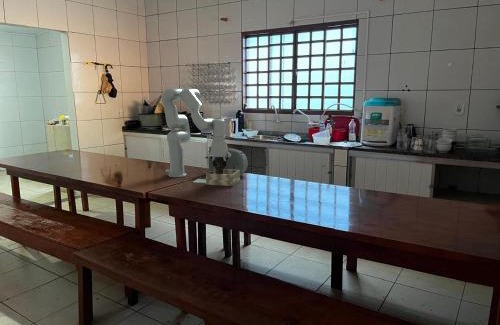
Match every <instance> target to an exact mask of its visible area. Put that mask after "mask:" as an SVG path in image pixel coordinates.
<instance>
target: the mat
mask: <svg viewBox="0 0 500 325" xmlns="http://www.w3.org/2000/svg"><path fill="white" fill-rule="evenodd" d="M192 183H194V184H206V178H196V179H195V180H193V181H192Z"/></svg>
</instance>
